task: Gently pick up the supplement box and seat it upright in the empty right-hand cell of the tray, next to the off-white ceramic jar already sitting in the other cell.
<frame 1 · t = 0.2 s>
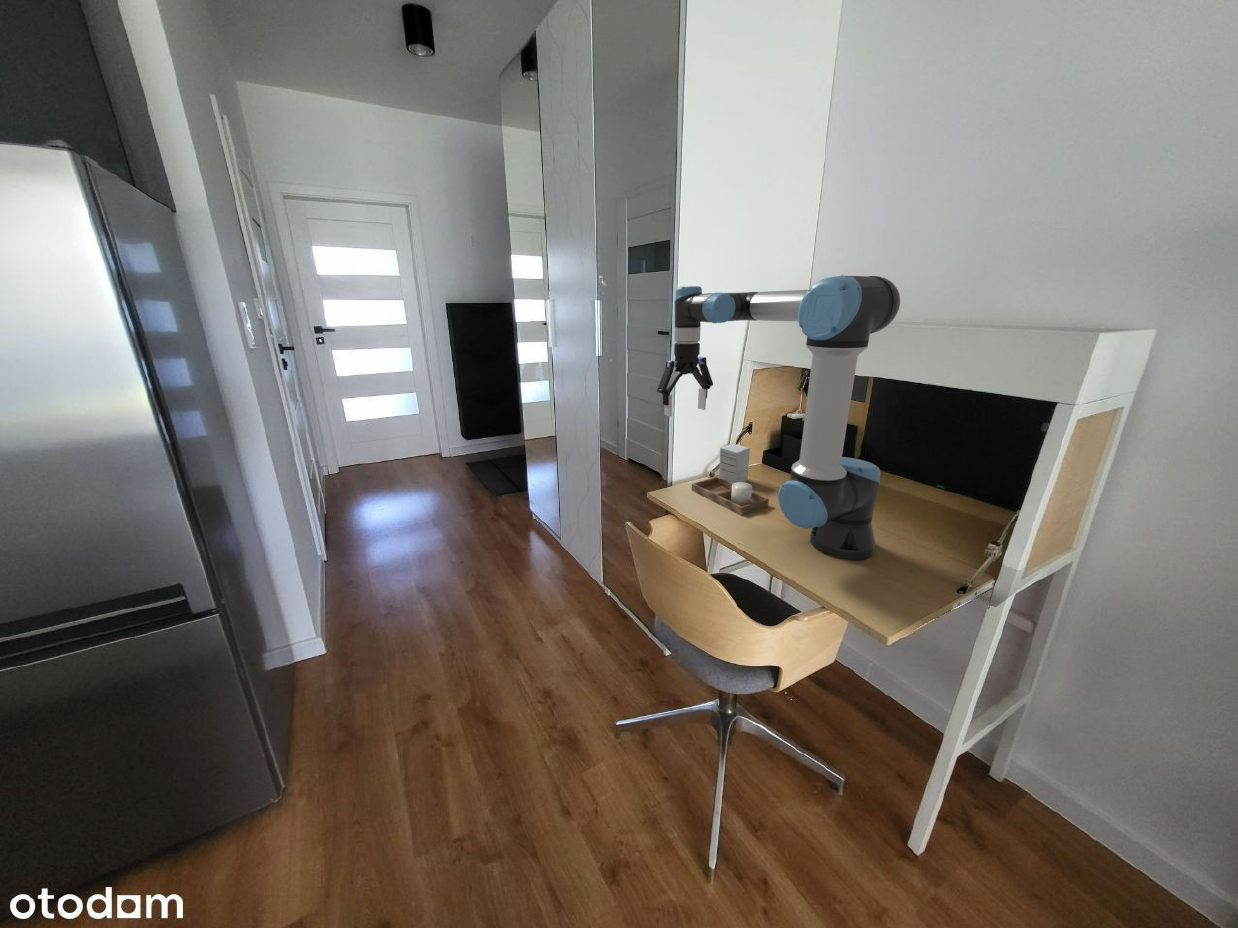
hand: (685, 412, 143), 28 cm above the table, fingers open, 13 cm apart
ceramic jar: (740, 503, 142), point 1 cm above the table, touching tray
tray: (728, 499, 146), on the table
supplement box: (732, 482, 160), on the table
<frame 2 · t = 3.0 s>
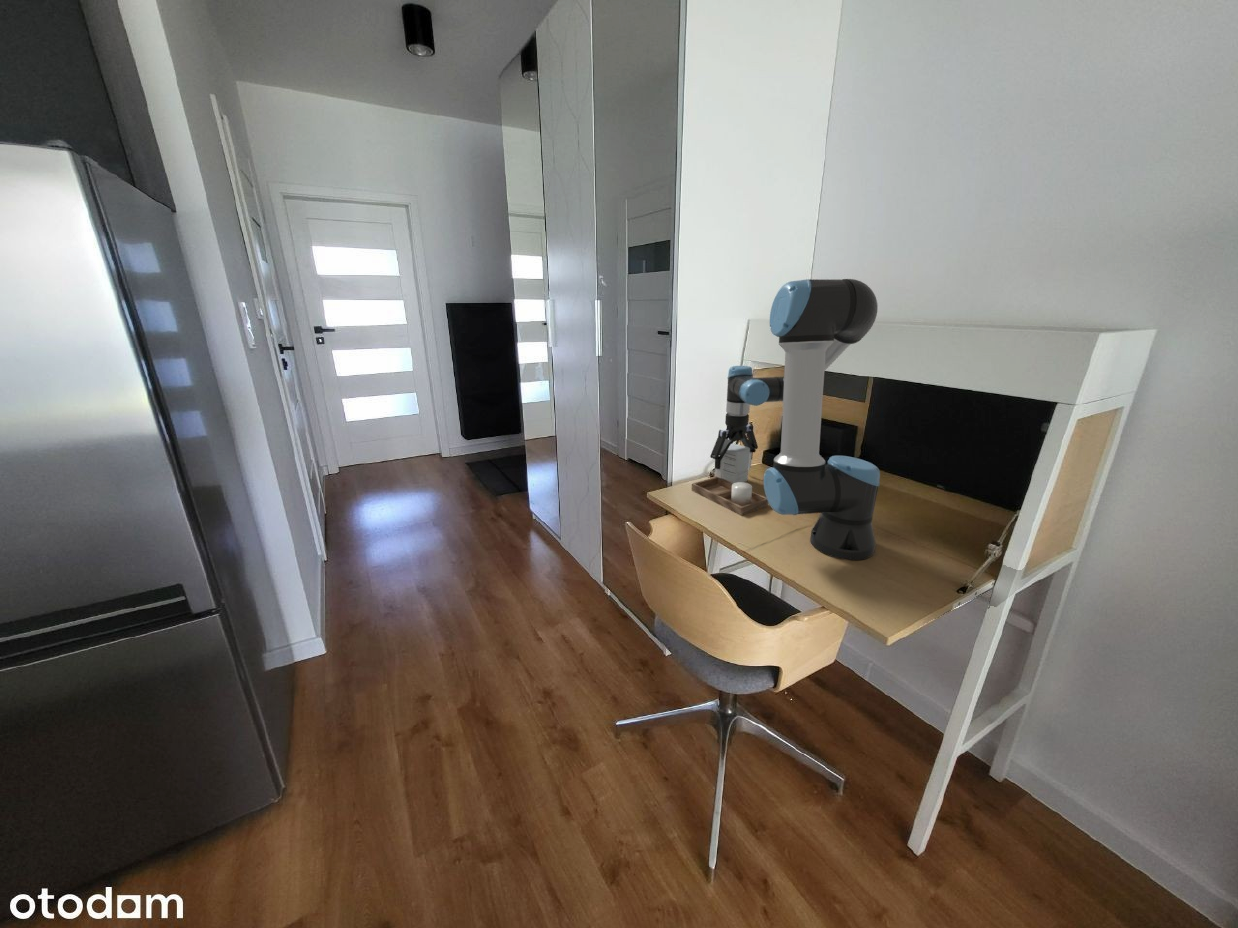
hand: (733, 473, 159), 3 cm above the table, fingers open, 13 cm apart
nothing on the table moved.
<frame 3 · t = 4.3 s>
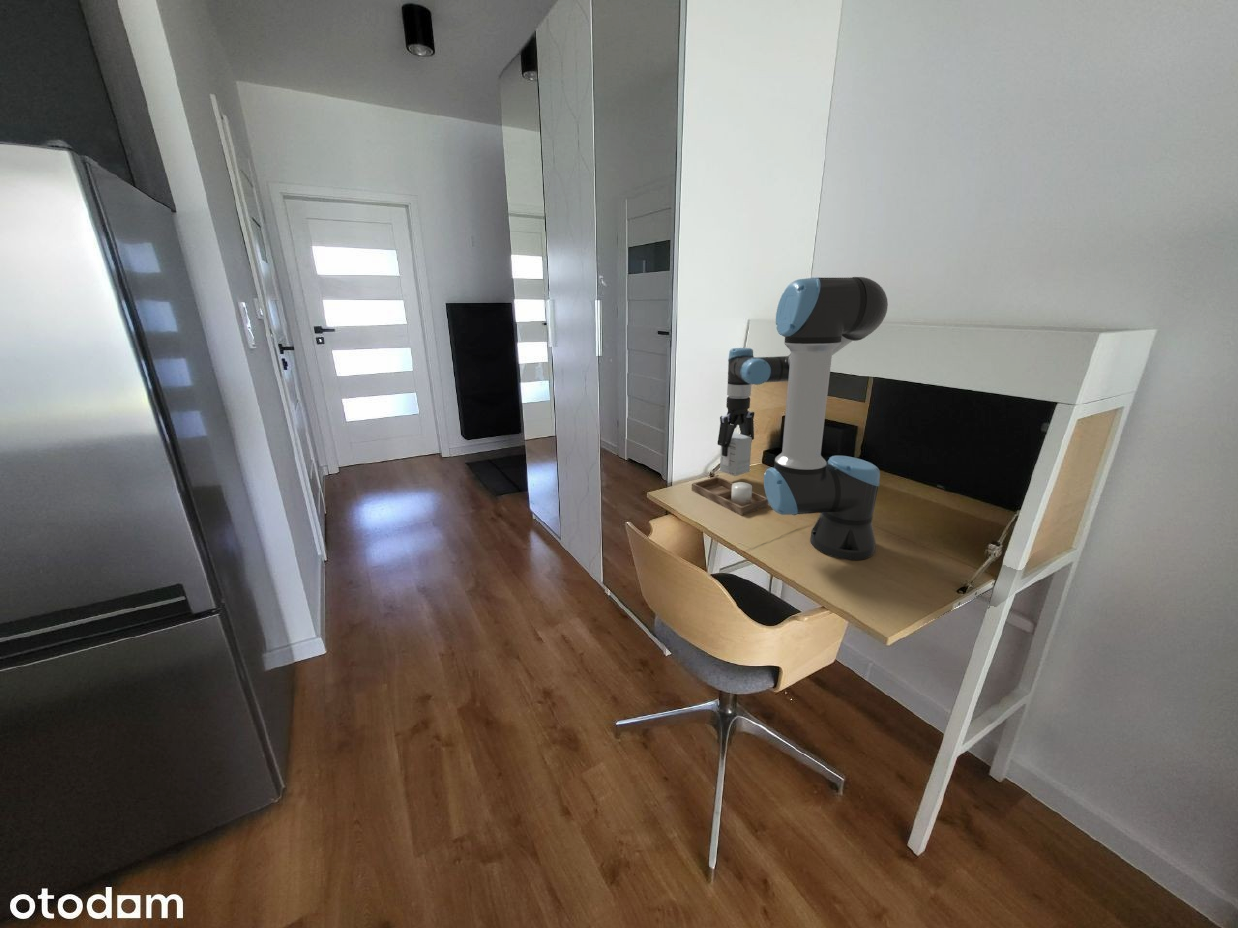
hand: (734, 462, 157), 7 cm above the table, fingers closed on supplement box, 7 cm apart
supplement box: (734, 472, 158), point 4 cm above the table, touching gripper
everything else where it was.
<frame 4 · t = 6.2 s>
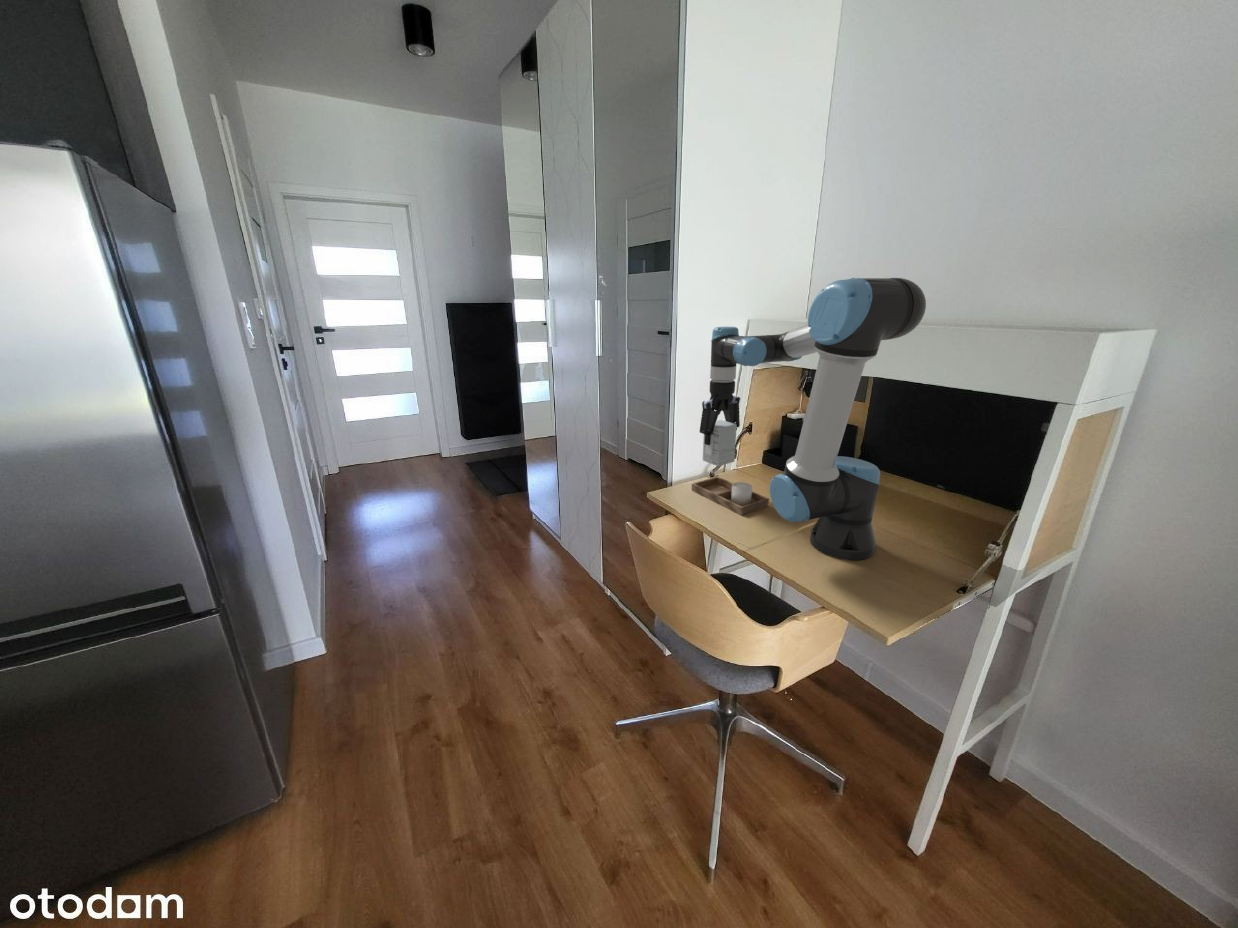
hand: (718, 451, 146), 15 cm above the table, fingers closed on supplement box, 7 cm apart
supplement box: (718, 461, 147), point 11 cm above the table, touching gripper
everything else where it was.
when the fingers open (4 cm above the table, at t = 8.4 s): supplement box stays where it is, resting on tray.
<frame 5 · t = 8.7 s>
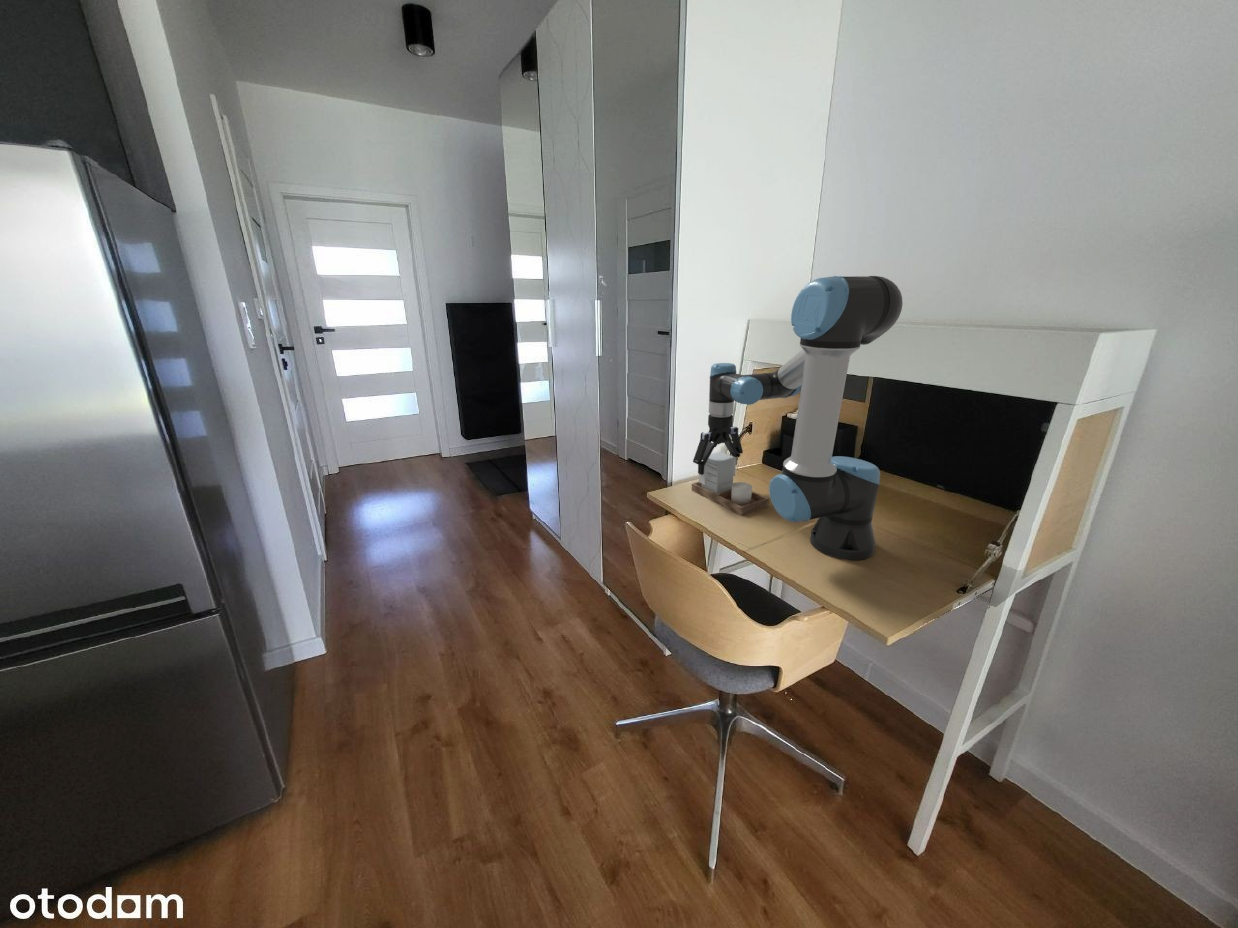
hand: (717, 479, 149), 5 cm above the table, fingers open, 12 cm apart
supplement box: (716, 493, 150), resting on tray
everything else where it was.
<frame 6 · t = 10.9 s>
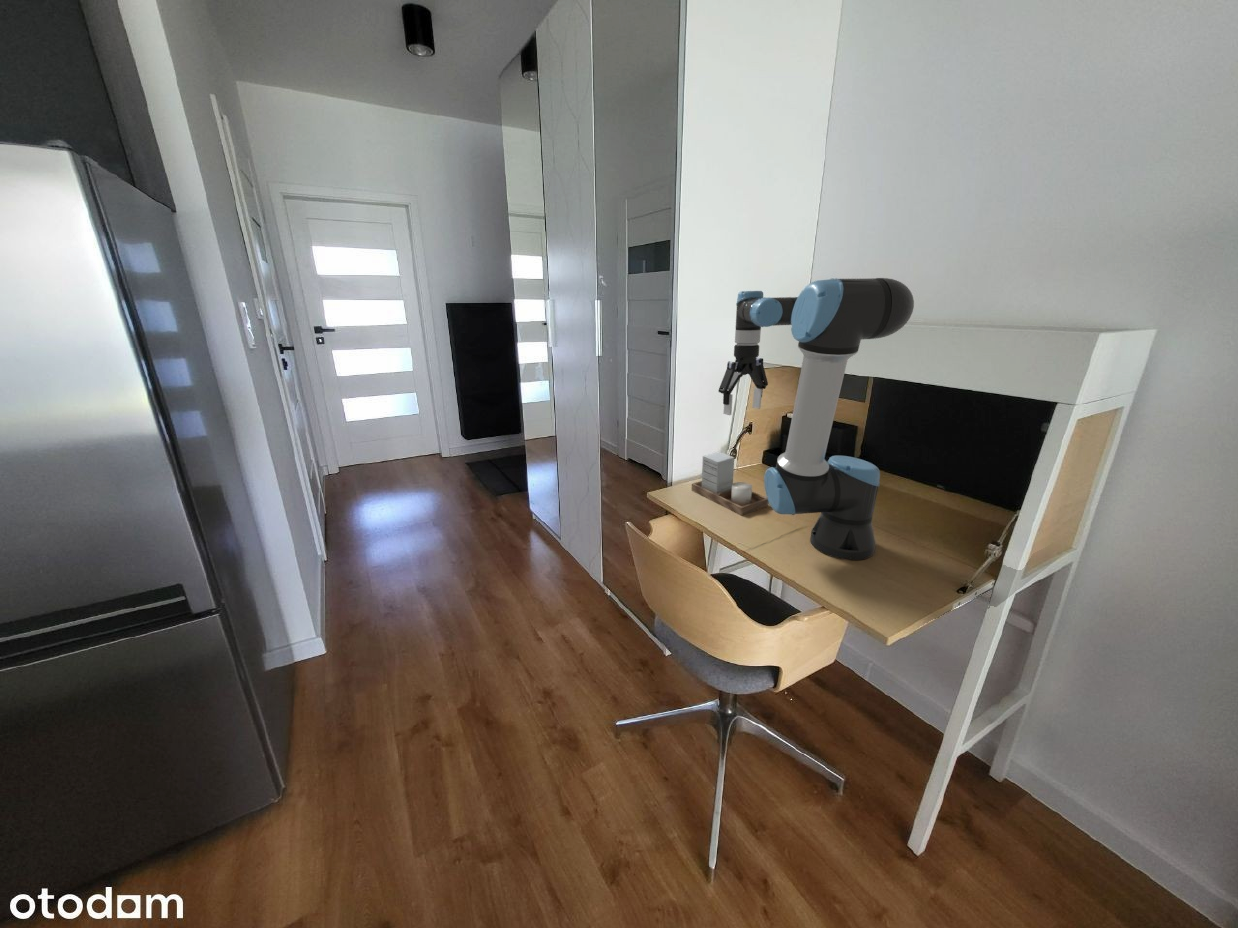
hand: (742, 411, 148), 26 cm above the table, fingers open, 13 cm apart
nothing on the table moved.
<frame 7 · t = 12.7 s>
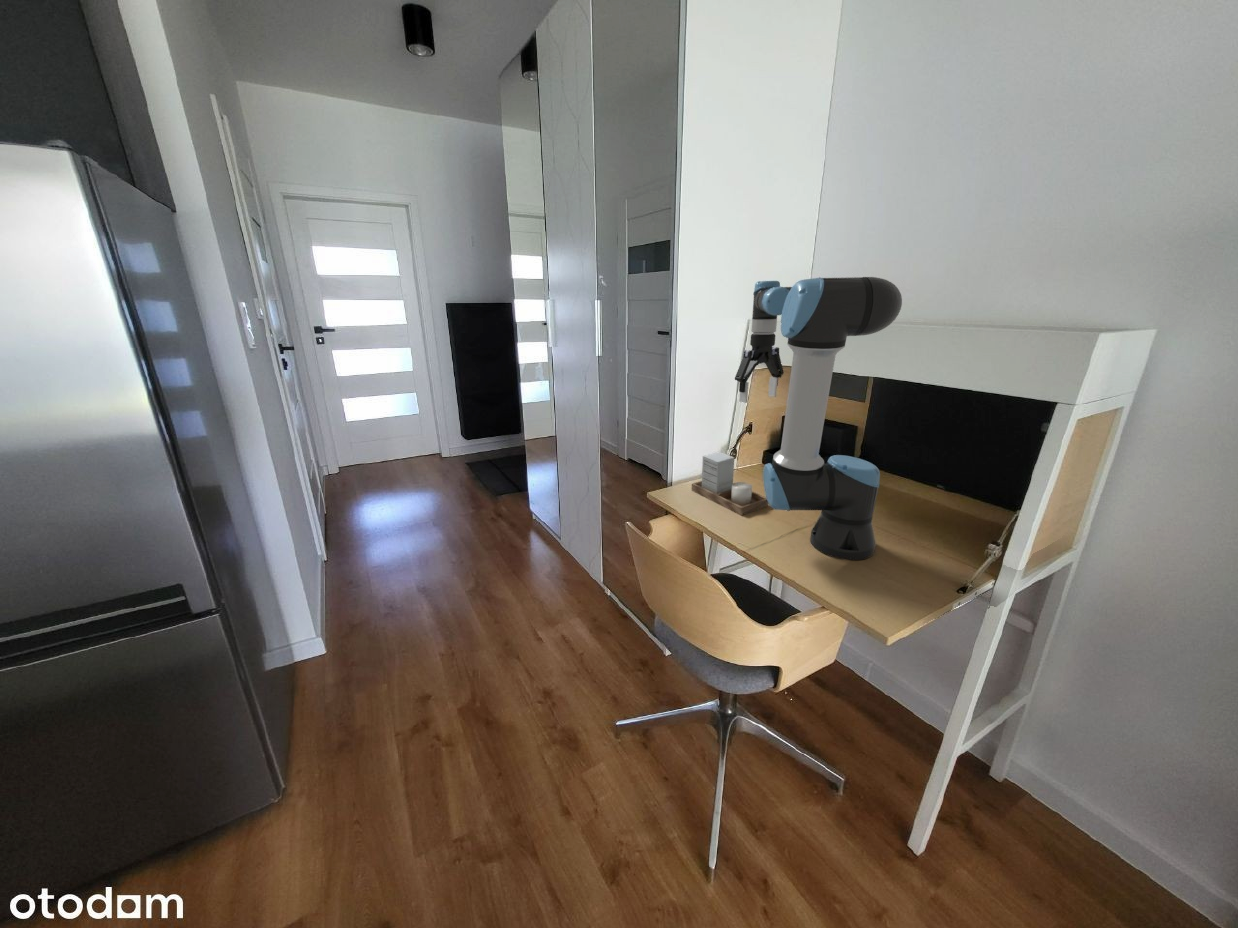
hand: (757, 399, 152), 29 cm above the table, fingers open, 13 cm apart
nothing on the table moved.
at the end: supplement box inside the target area on the tray (0.2 cm from its centre), point 0.4 cm above the tray's base; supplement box tilted 0°; the gripper is holding nothing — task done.
